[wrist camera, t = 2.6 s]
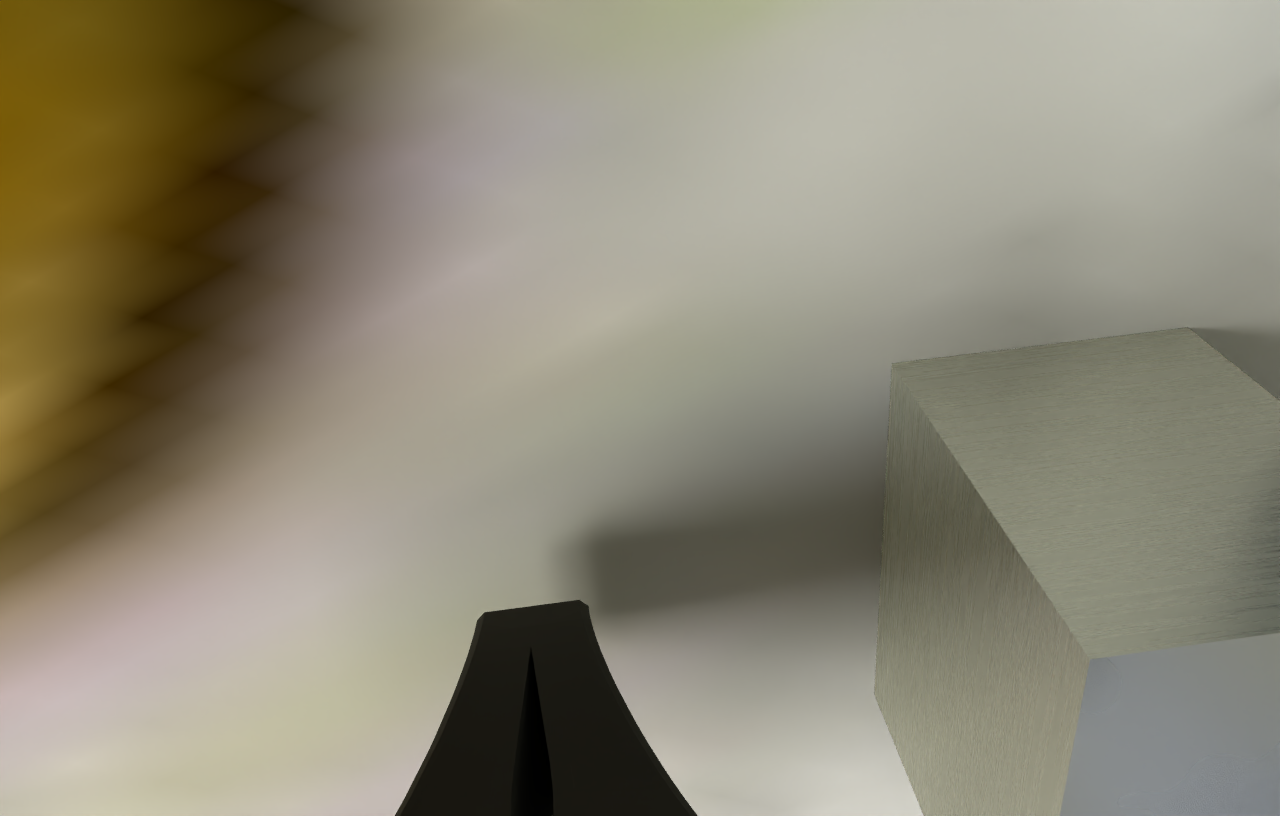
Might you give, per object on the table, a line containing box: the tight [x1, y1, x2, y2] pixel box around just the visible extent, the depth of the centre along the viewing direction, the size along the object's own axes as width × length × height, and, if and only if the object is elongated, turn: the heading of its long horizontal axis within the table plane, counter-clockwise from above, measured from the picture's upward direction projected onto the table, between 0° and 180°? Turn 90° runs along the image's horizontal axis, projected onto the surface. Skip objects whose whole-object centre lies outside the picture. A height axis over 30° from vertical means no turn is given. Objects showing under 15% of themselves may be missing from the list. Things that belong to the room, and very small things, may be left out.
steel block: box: [874, 327, 1280, 816], centre depth 13 cm, size 6×4×6 cm, turn 4°
